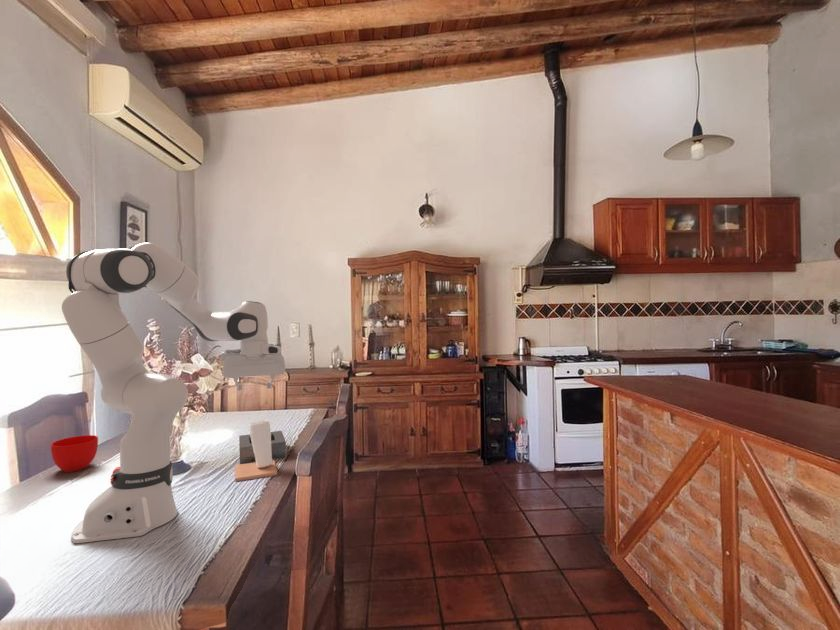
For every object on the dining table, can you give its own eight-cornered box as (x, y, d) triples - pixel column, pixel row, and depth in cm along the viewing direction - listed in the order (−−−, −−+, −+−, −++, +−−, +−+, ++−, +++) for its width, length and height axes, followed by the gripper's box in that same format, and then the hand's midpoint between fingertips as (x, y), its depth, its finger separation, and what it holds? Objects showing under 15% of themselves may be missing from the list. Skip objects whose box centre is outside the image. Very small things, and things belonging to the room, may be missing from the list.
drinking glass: (250, 468, 145) (244, 425, 146) (265, 462, 151) (260, 420, 152) (263, 469, 142) (257, 424, 143) (279, 462, 148) (273, 419, 149)
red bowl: (107, 456, 162) (107, 430, 162) (90, 472, 146) (89, 443, 146) (66, 461, 157) (65, 434, 157) (43, 478, 141) (43, 448, 141)
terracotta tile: (235, 481, 137) (235, 478, 137) (235, 467, 149) (235, 465, 149) (277, 474, 142) (277, 471, 142) (274, 462, 154) (274, 459, 154)
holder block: (239, 464, 152) (239, 447, 152) (239, 450, 167) (239, 435, 167) (286, 457, 159) (285, 441, 159) (281, 445, 173) (281, 430, 173)
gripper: (220, 350, 138) (220, 393, 138) (285, 348, 146) (286, 388, 146) (221, 349, 144) (221, 389, 144) (283, 347, 152) (284, 385, 152)
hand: (254, 389), depth 145 cm, fingers open, 8 cm apart
